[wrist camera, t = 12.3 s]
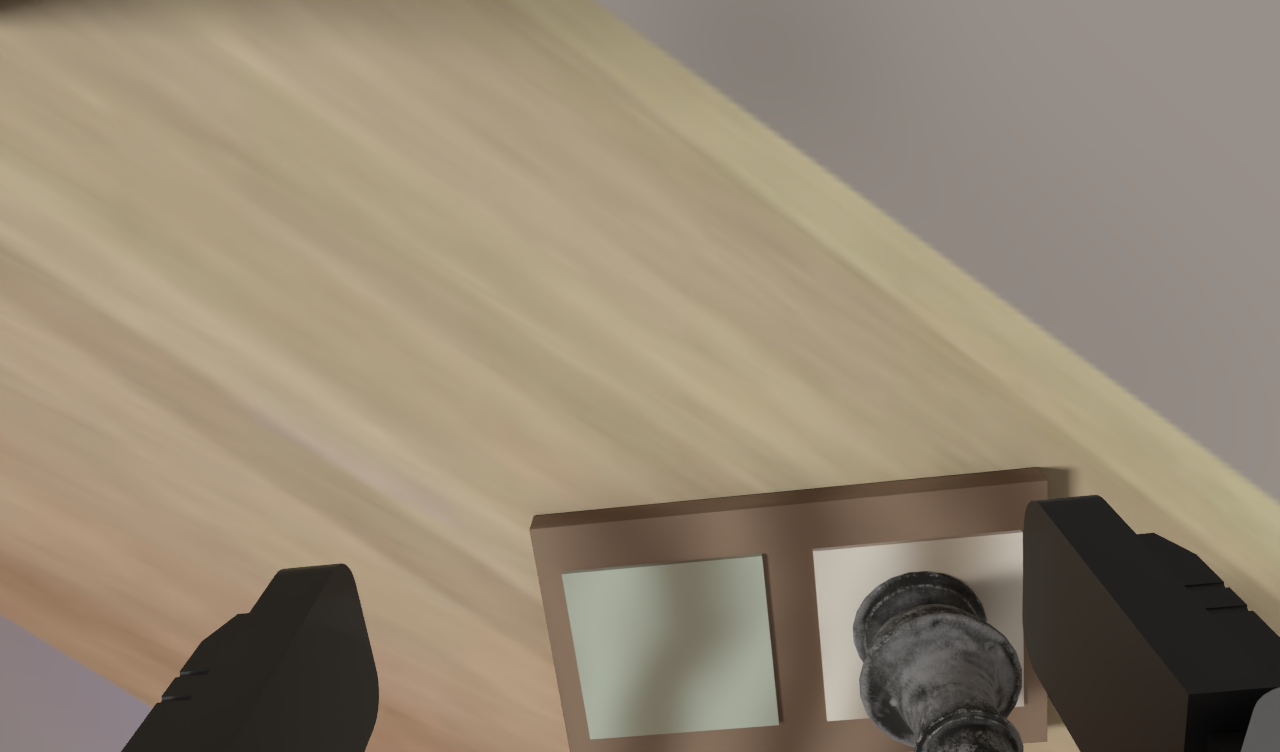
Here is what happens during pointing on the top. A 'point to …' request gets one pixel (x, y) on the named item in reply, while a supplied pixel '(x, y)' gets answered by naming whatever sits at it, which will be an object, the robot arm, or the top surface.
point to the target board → (764, 608)
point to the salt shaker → (936, 667)
